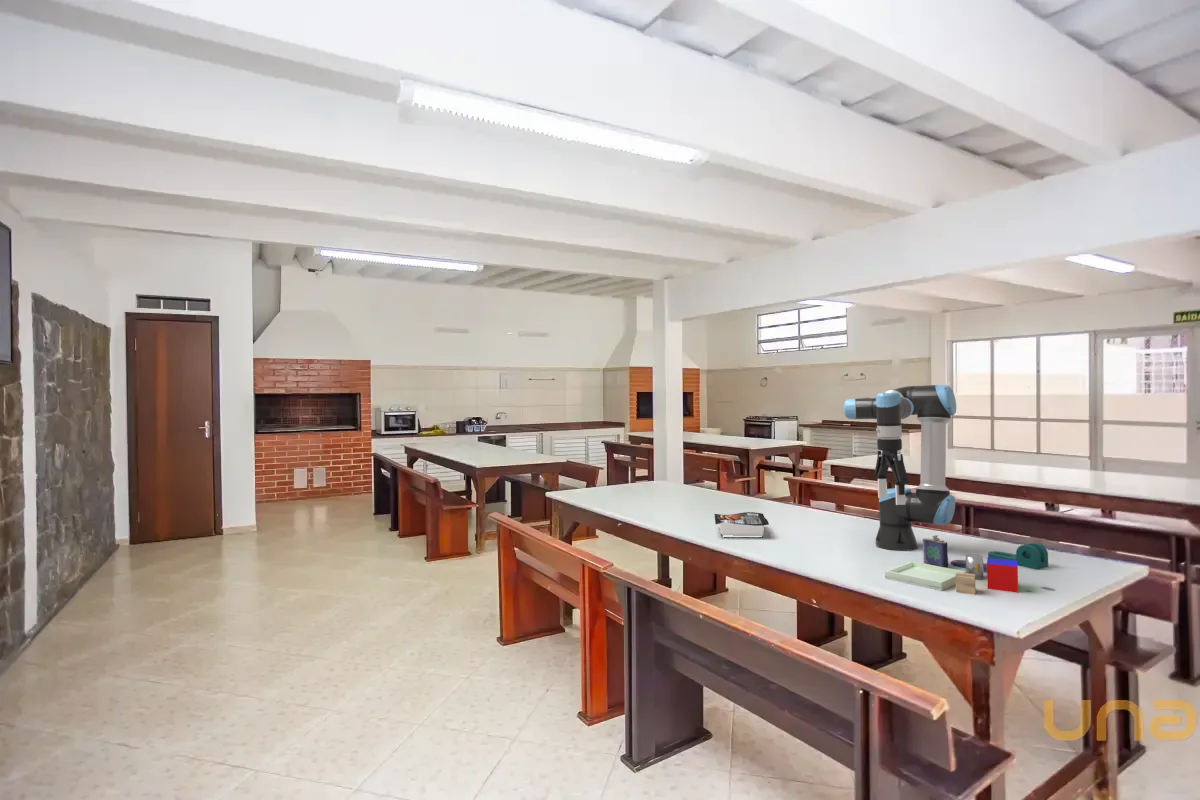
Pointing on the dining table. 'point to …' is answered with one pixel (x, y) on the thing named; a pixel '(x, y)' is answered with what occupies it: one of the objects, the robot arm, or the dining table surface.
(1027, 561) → the bracket
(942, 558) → the flask
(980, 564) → the grey canister
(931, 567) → the tray
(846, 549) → the dining table surface
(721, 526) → the food packaging
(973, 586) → the oak block
